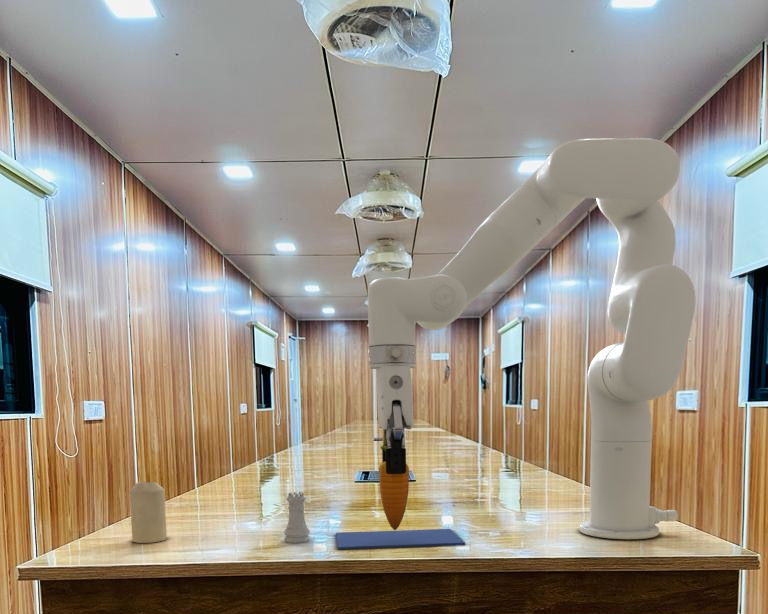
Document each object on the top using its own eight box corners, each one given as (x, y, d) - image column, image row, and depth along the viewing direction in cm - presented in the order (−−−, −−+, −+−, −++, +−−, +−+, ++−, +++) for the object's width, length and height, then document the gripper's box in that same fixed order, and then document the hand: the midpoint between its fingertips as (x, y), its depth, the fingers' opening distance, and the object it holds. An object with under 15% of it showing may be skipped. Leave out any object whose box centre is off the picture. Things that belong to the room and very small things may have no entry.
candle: (173, 538, 113) (170, 480, 112) (150, 544, 108) (146, 483, 107) (149, 536, 115) (146, 479, 114) (125, 542, 110) (121, 482, 109)
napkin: (450, 531, 115) (450, 528, 115) (465, 545, 103) (465, 542, 103) (336, 534, 113) (335, 532, 113) (337, 549, 102) (337, 547, 101)
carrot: (407, 533, 105) (405, 439, 104) (376, 532, 106) (375, 439, 105) (412, 527, 110) (410, 437, 108) (383, 526, 111) (381, 438, 109)
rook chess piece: (316, 540, 109) (315, 492, 108) (295, 544, 106) (293, 495, 105) (299, 537, 112) (297, 490, 111) (278, 541, 109) (276, 493, 108)
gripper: (423, 354, 97) (425, 476, 99) (408, 362, 114) (409, 467, 116) (373, 354, 96) (375, 478, 98) (365, 362, 113) (367, 468, 115)
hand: (394, 470), depth 107 cm, fingers closed on carrot, 4 cm apart
